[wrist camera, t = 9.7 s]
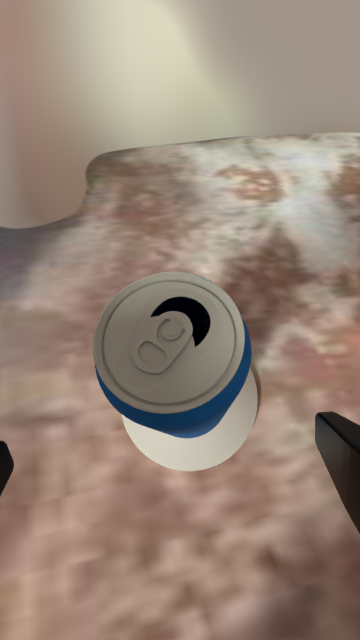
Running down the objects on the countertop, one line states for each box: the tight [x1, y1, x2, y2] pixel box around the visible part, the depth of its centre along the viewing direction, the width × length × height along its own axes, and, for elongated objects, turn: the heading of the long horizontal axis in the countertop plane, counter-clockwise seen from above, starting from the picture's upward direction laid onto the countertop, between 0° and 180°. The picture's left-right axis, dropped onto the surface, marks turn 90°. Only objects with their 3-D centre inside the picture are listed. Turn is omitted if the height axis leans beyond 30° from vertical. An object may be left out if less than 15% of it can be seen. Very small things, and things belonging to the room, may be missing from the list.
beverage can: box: [93, 272, 251, 438], centre depth 14 cm, size 6×6×12 cm
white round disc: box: [121, 368, 258, 471], centre depth 20 cm, size 11×11×1 cm
